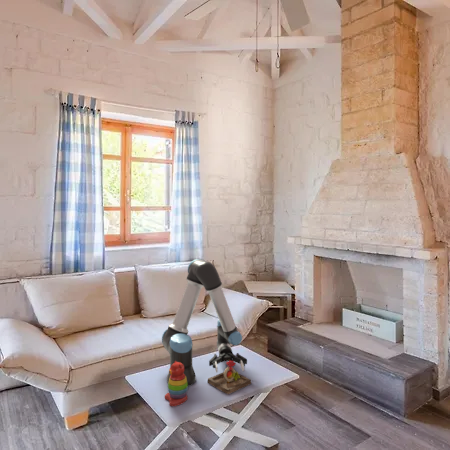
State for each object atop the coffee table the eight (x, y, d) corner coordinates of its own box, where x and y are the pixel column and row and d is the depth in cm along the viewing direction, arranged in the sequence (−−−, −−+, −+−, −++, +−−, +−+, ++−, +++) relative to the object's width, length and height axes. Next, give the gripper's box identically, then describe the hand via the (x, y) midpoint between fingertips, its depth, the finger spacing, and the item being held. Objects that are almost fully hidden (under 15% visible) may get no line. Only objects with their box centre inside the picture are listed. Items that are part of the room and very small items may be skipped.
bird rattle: (232, 388, 185) (243, 376, 191) (226, 372, 182) (237, 359, 187) (223, 384, 190) (234, 372, 195) (217, 368, 186) (228, 356, 192)
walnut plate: (207, 382, 190) (207, 378, 190) (230, 373, 200) (230, 369, 200) (228, 394, 178) (228, 390, 178) (251, 383, 188) (251, 379, 188)
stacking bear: (163, 396, 176) (163, 360, 175) (183, 391, 181) (182, 356, 180) (171, 407, 167) (170, 369, 166) (191, 401, 171) (191, 365, 170)
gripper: (247, 357, 208) (254, 374, 187) (203, 359, 205) (205, 377, 184) (247, 344, 208) (254, 360, 187) (203, 346, 205) (205, 362, 184)
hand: (230, 368), depth 185 cm, fingers open, 13 cm apart
